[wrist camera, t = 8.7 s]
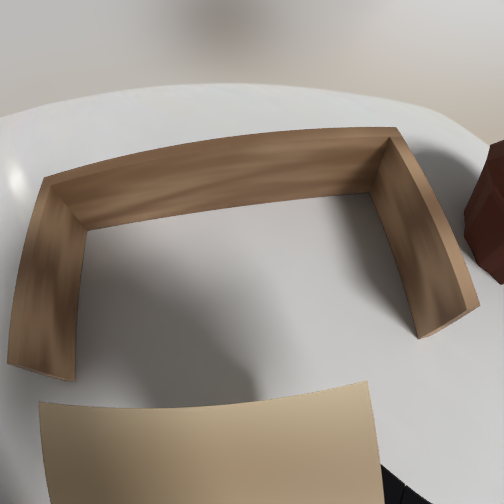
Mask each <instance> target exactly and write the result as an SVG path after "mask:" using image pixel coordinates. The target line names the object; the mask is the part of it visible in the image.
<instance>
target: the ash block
mask: <svg viewBox="0 0 504 504" xmlns="http://www.w3.org/2000/svg"><path fill="white" fill-rule="evenodd" d="M39 418H40V432H41V443H42V453H43V461H44V468H45V475H46V481H47V487H48V492H49V497H50V502H51V504H385V503H384V492H383V482H382V474H381V465H380V457H379V450H378V443H377V436H376V429H375V423H374V417H373V411H372V405H371V399H370V394H369V388H368V383H367V381H363V382H359V383H355V384H351V385H346V386H342V387H337V388H333V389H328V390H323V391H318V392H313V393H307V394H302V395H296V396H290V397H284V398H277V399H270V400H263V401H255V402H247V403H237V404H227V405H216V406H202V407H184V408H106V407H88V406H75V405H64V404H55V403H46V402H39Z"/></svg>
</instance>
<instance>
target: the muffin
mask: <svg viewBox="0 0 504 504" xmlns="http://www.w3.org/2000/svg"><path fill="white" fill-rule="evenodd" d="M464 216H465V231H464V237H465V239H466V241H467V242H468V244H469V246H470V248H471V249H472V251H473V254H474V256H475V259H476V261H477V264H478V266H480V267H481V268H482V269H484V270H485V271H487V272H488V273H489V274H490V275H491V276H492V277H493V278H494V279H495V280H496V281H497V282H498V283H499V284H500V285H502V284H504V140H502V141H500V142H497V143H494V144H492V145H490V149H489V153H488V157H487V160H486V162H485V165H484V167H483V170H482V172H481V175H480V177H479V179H478V182H477V184H476V186H475V189H474V191H473V193H472V195H471V198H470V200H469V202H468V204H467V206H466V208H465V210H464Z"/></svg>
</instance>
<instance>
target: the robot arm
mask: <svg viewBox="0 0 504 504" xmlns="http://www.w3.org/2000/svg"><path fill="white" fill-rule="evenodd" d="M380 465H381V464H380ZM381 474H382V482H383V492H384V503H385V504H432V503H430V502H429V501H427V500H426V499H424V498H423V497H421V496H420V495H419V494H417V493H416V492H415V491H413V490H412V489H411V488H410V487H408V486H407V485H406V486H405V484H404V483H403V482H402V481H401V480H400V479H398V478H397V477H396V476H395V475H393V474H392V473H391V472H390V471H389V470H387V469H386V468H385V467H384V466H383V465H381Z"/></svg>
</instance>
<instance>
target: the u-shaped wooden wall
mask: <svg viewBox="0 0 504 504" xmlns="http://www.w3.org/2000/svg"><path fill="white" fill-rule="evenodd" d="M366 192H370V195H371V197H372V199H373V202H374V204H375V207H376V209H377V212H378V214H379V217H380V220H381V222H382V225H383V227H384V230H385V233H386V235H387V238H388V241H389V244H390V247H391V249H392V252H393V255H394V258H395V261H396V264H397V267H398V270H399V273H400V276H401V279H402V282H403V286H404V289H405V292H406V295H407V299H408V302H409V306H410V309H411V313H412V316H413V320H414V324H415V328H416V331H417V335H418V339H421V338H424V337H428V336H431V335H433V334H434V333H436V332H438V331H440V330H441V329H443V328H445V327H447V326H448V325H450V324H452V323H453V322H455V321H457V320H458V319H460V318H462V317H463V316H465V315H466V314H468V313H470V312H471V311H473V310H474V309H476V308H477V307H479V306H480V303H479V300H478V297H477V294H476V291H475V288H474V285H473V282H472V279H471V277H470V274H469V271H468V268H467V266H466V263H465V261H464V258H463V255H462V253H461V251H460V248H459V246H458V243H457V241H456V239H455V236H454V234H453V232H452V229H451V227H450V225H449V223H448V220H447V218H446V216H445V214H444V212H443V210H442V208H441V206H440V204H439V202H438V200H437V198H436V196H435V194H434V192H433V190H432V188H431V186H430V184H429V182H428V180H427V178H426V177H425V175H424V173H423V171H422V169H421V168H420V166H419V164H418V162H417V160H416V159H415V157H414V155H413V154H412V152H411V150H410V149H409V147H408V145H407V144H406V142H405V140H404V139H403V137H402V136H401V134H400V132H399V131H398V129H397V128H396V127H347V128H322V129H305V130H291V131H279V132H268V133H258V134H249V135H241V136H233V137H225V138H218V139H211V140H204V141H198V142H192V143H186V144H180V145H175V146H169V147H164V148H159V149H154V150H149V151H144V152H139V153H135V154H130V155H126V156H121V157H117V158H113V159H109V160H105V161H101V162H97V163H93V164H89V165H85V166H82V167H78V168H75V169H71V170H68V171H64V172H61V173H57V174H54V175H51V176H48V177H44V179H43V182H42V185H41V188H40V191H39V194H38V197H37V200H36V203H35V206H34V210H33V213H32V217H31V220H30V224H29V227H28V231H27V235H26V239H25V243H24V247H23V251H22V256H21V260H20V265H19V270H18V275H17V281H16V286H15V292H14V299H13V306H12V313H11V321H10V331H9V342H8V358H7V364H10V365H13V366H16V367H19V368H22V369H25V370H28V371H31V372H35V373H38V374H42V375H45V376H49V377H52V378H56V379H60V380H64V381H75V349H76V324H77V309H78V297H79V286H80V277H81V269H82V261H83V254H84V247H85V240H86V234H87V231H89V230H94V229H99V228H105V227H110V226H116V225H122V224H127V223H133V222H139V221H145V220H151V219H157V218H163V217H169V216H176V215H182V214H189V213H196V212H202V211H209V210H216V209H223V208H231V207H238V206H246V205H254V204H262V203H270V202H278V201H287V200H295V199H305V198H314V197H324V196H334V195H344V194H355V193H366Z"/></svg>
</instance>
